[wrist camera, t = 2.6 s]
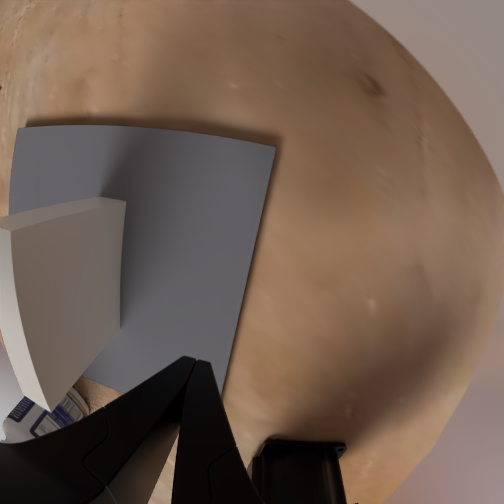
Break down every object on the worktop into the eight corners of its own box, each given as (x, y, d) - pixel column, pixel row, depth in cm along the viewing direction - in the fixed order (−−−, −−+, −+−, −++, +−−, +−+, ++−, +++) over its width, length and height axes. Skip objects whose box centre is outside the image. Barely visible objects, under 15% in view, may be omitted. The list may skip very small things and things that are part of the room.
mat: (275, 148, 11) (276, 147, 11) (216, 413, 15) (215, 420, 15) (23, 128, 11) (17, 128, 10) (29, 341, 15) (25, 344, 15)
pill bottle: (48, 399, 17) (0, 461, 8) (39, 362, 16) (-25, 430, 6) (93, 426, 17) (51, 500, 8) (89, 393, 16) (31, 479, 7)
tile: (126, 201, 11) (10, 231, 5) (120, 329, 13) (51, 412, 7) (97, 196, 11) (-18, 221, 5) (95, 319, 13) (21, 393, 7)
